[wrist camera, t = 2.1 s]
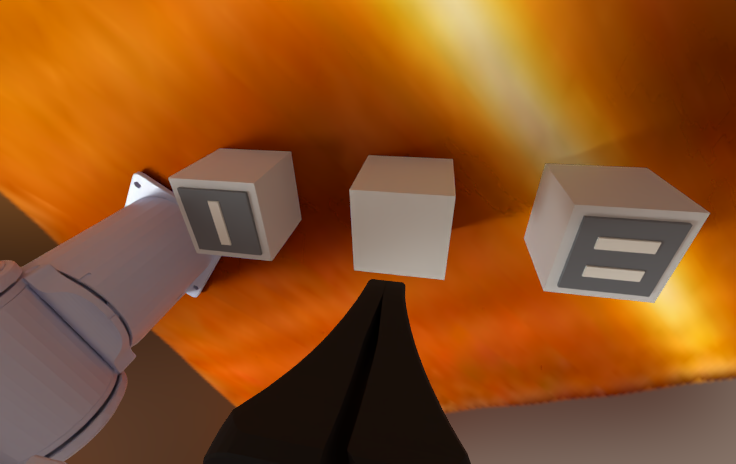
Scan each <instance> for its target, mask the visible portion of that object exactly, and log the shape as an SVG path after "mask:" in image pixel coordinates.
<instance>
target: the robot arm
mask: <svg viewBox="0 0 736 464" xmlns="http://www.w3.org/2000/svg"><path fill="white" fill-rule="evenodd" d="M220 258H221V256H219V255H210V254H200V253H197V252H196V250H195V247H194V245H193V242H192V239H191V237H190V234H189V231H188V229H187V226H186V224H185V221H184V218H183V216H182V213H181V211H180V208H179V205H178V203H177V200H176V198H175V195H174V193H173V192H172V191H170V190H169V189H167V188H166V187H164V186H163V185H161V184H160V183H158V182H157V181H155V180H154V179H152V178H150V177H149V176H147V175H146V174H144V173H142V172H137V173H135V174H133V176H132V180H131V184H130V188H129V192H128V196H127V200H126V204H125V207H124V208H123V209H121V210H119V211H118V212H116V213H114V214H112V215H111V216H109V217H107V218H105V219H104V220H102V221H100V222H99V223H97V224H95V225H93V226H92V227H90V228H88V229H87V230H85V231H83V232H81V233H80V234H78V235H76V236H74V237H73V238H71V239H69V240H68V241H66V242H64V243H62V244H61V245H59V246H57V247H56V248H54V249H52V250H51V251H49V252H47V253H45V254H44V255H42V256H40V257H38V258H37V259H35V260H33V261H32V262H30V263H28V264H26V265H25V266H23V267H19V266H18V265H17V264H16V262H14V261H10V260H4V261H0V464H67V463H65V462H63V461H65V460H66V459H68V458H69V457H71V456H72V455H74V454H75V453H76V452H77V451H79V450H80V449H81V448H82V447H84V446H85V445H86V444H87V443H88V442H89V441H90V440H91V439H93V437H95V435H97V434H98V432H99V431H100V430H101V429H102V428H103V427H104V426H105V425H106V423H107V422H108V421H109V419H110V418H111V417H112V415H113V414H114V412H115V411H116V409H117V407H118V405H119V403H120V401H121V400H122V397H123V395H124V393H125V390H126V387H127V376H126V373H125V372H124V371H123V370H124V369H125V368H126V367H127V366H128V365H129V364H130V363H131V362H132V361H133V360H134V358H135V357H136V355H135V354H134V353H133V351H132V350H131V347H132V346H134V345H135V344H137V343H138V342H139V341H140V340H141V339H142V338H143V337H144V336H145V335H146V334H147V333H148V332H149V331H150V330H151V329H152V328H153V327H154V326H155V324H156V323H157V322H158V321H159V320H160V319H161V318H162V317H163V316H164V315H165V314H166V313H167V312H168V311H169V310H170V309H171V308H172V307H173V306H174V305H175V303H176V302H177V301H178V300H179V299H180V298H181V297H182V296H183V295H184V294H185V293H187V294H189V295H190V296H192V297H198V296H199V294H200V293H201V291H202V289H203V288H204V286H205V284H206V282H207V281H208V279H209V277H210V275H211V274H212V272H213V270H214V268H215V267H216V265H217V263H218V261H219V260H220ZM203 464H471V463H470V460H469V457H468V454H467V452H466V451H465V449H464V447H463V446H462V444H461V442H460V441H459V439H458V437H457V435H456V434H455V432H454V430H453V428H452V427H451V425H450V423H449V421H448V419H447V417H446V415H445V414H444V412H443V410H442V408H441V406H440V404H439V401H438V399H437V397H436V395H435V393H434V391H433V389H432V387H431V385H430V382H429V380H428V378H427V375H426V373H425V370H424V368H423V365H422V363H421V360H420V357H419V354H418V352H417V349H416V345H415V342H414V339H413V335H412V332H411V328H410V324H409V319H408V315H407V309H406V302H405V284H404V283H402V282H393V281H384V280H375V279H371V280H370V281H368V283H367V285H366V287H365V288H364V290H363V291H362V293H361V295H360V296H359V297H358V299H357V300H356V302H355V303H354V304H353V306H352V307H351V308H350V310H349V311H348V312H347V314H346V315H345V316H344V317H343V319H342V320H341V321H340V322H339V323H338V324H337V326H336V327H335V328H334V329H333V330H332V331H331V332H330V334H329V335H328V336H327V337H326V338H325V339H324V340H323V341H322V342H321V343H320V344H319V345H318V346H317V347H316V348H315V349H314V350H313V351H312V352H311V353H309V354H308V355H307V356H306V357H305V358H304V359H303V360H302V361H300V362H299V363H298V364H297V365H296V366H295V367H293V368H292V369H291V370H290V371H288V372H287V373H286V374H284V375H283V376H282V377H280V378H279V379H278V380H276V381H275V382H274V383H273V384H271V385H270V386H269V387H267V388H266V389H264V390H263V391H261V392H260V393H258V394H257V395H255V396H254V397H252V398H251V399H249V400H247V401H246V402H244V403H243V404H241V405H240V406H238V407H237V408H235V409H233V411H232V412H231V413H230V415H229V416H228V418H227V419H226V421H225V422H224V424H223V425H222V427H221V428H220V430H219V432H218V433H217V435H216V437H215V439H214V441H213V442H212V444H211V446H210V448H209V450H208V452H207V454H206V455H205V457H204V461H203Z"/></svg>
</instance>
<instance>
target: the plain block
mask: <svg viewBox="0 0 736 464" xmlns="http://www.w3.org/2000/svg"><path fill="white" fill-rule="evenodd" d="M349 193H350V210H351V226H352V243H353V260H354V270H357V271H366V272H376V273H385V274H394V275H404V276H413V277H422V278H432V279H441V280H444V278H445V271H446V264H447V257H448V249H449V242H450V235H451V228H452V220H453V213H454V206H455V199H456V193H455V180H454V167H453V159H443V158H421V157H398V156H375V155H368V157H367V159H366V161H365V162H364V164H363V166H362V168H361V170H360V171H359V173H358V175H357V177H356V179H355V180H354V182H353V184H352V186H351V188H350V189H349Z"/></svg>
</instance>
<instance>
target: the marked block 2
mask: <svg viewBox="0 0 736 464" xmlns="http://www.w3.org/2000/svg"><path fill="white" fill-rule="evenodd" d="M709 214H710V212H708V211H707V210H705V209H704V208H703V207H701V206H700V205H698V204H697V203H696V202H694V201H693V200H691V199H690V198H689V197H687V196H686V195H684V194H683V193H682V192H680V191H679V190H677V189H676V188H675V187H673V186H672V185H670V184H669V183H668V182H666V181H665V180H663V179H662V178H661V177H659V176H658V175H656V174H655V173H654V172H652V171H651V170H649V169H648V168H641V167H618V166H594V165H571V164H547V163H545V166H544V169H543V173H542V176H541V180H540V183H539V187H538V190H537V194H536V198H535V201H534V205H533V208H532V212H531V215H530V219H529V222H528V226H527V229H526V233H525V236H524V240H525V242H526V245H527V248H528V250H529V253H530V256H531V258H532V261H533V264H534V267H535V269H536V272H537V275H538V277H539V280H540V283H541V285H542V288H543V291H549V292H558V293H568V294H577V295H586V296H596V297H605V298H614V299H624V300H633V301H642V302H652V303H654V302H655V301H656V299H657V297H658V296H659V294H660V293H661V291H662V289H663V288H664V286H665V285H666V283H667V281H668V280H669V278H670V277H671V275H672V273H673V272H674V270H675V269H676V267H677V266H678V264H679V262H680V261H681V259H682V258H683V256H684V254H685V253H686V251H687V250H688V248H689V246H690V245H691V243H692V242H693V240H694V238H695V237H696V235H697V234H698V232H699V230H700V229H701V227H702V226H703V224H704V222H705V221H706V219H707V218H708V216H709Z"/></svg>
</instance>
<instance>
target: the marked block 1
mask: <svg viewBox="0 0 736 464" xmlns="http://www.w3.org/2000/svg"><path fill="white" fill-rule="evenodd" d="M168 179H169V182H170V185H171V187H172V190H173V192H174V195H175V198H176V200H177V203H178V205H179V208H180V211H181V213H182V216H183V218H184V221H185V224H186V226H187V229H188V231H189V234H190V237H191V239H192V242H193V245H194V247H195V250H196V252H197V253H200V254H210V255H219V256H228V257H238V258H247V259H257V260H266V261H272V260H273V259H274V258H275V256H276V255H277V253H278V252H279V251H280V249H281V248H282V246H283V245H284V244H285V242H286V241H287V239H288V238H289V237H290V235H291V234H292V232H293V231H294V230H295V228H296V227H297V225H298V224H299V222H300V221H301V220H302V218H301V212H300V205H299V199H298V192H297V186H296V180H295V173H294V167H293V160H292V154H291V151H269V150H245V149H222V148H220V149H218V150H216V151H215V152H213V153H211V154H209V155H208V156H206V157H204V158H202V159H200V160H199V161H197V162H195V163H193V164H192V165H190V166H188V167H186V168H185V169H183V170H181V171H179V172H178V173H176V174H174V175H172V176H170V177H169V178H168Z"/></svg>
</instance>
